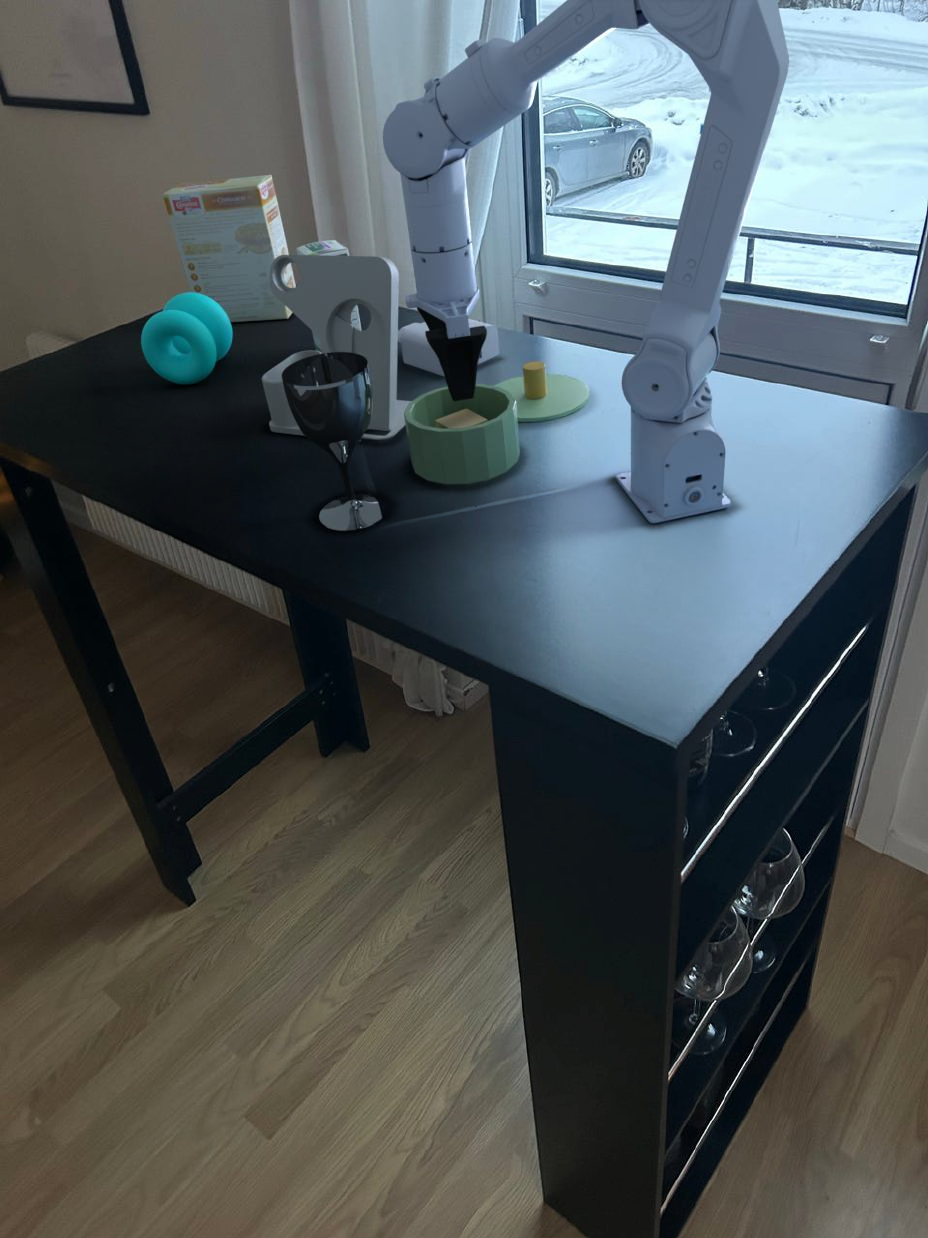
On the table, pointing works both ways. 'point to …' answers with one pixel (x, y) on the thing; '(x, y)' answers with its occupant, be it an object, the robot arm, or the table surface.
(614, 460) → the table surface
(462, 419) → the block
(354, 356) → the wine glass
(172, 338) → the turquoise yo-yo
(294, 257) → the phone holder
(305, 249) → the syrup box
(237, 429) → the table surface
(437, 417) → the tin
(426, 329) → the charger
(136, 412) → the table surface
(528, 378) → the lid
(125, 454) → the table surface
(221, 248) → the coffeecake box
